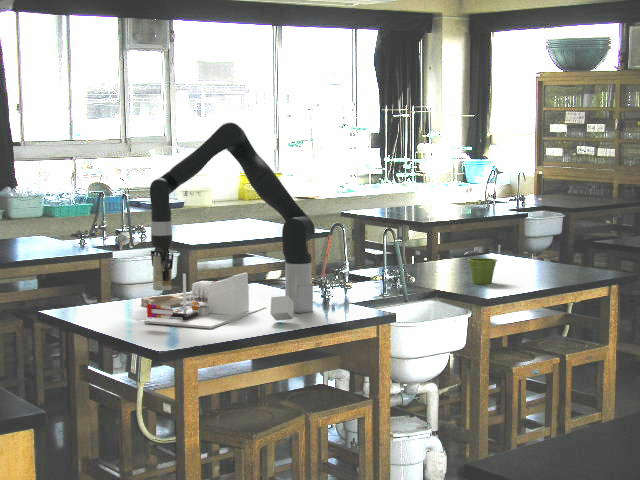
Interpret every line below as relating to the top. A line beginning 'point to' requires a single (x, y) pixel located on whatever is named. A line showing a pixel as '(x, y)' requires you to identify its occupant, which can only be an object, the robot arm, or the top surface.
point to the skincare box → (160, 276)
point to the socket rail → (165, 300)
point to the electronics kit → (207, 304)
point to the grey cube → (282, 308)
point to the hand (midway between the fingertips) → (162, 279)
